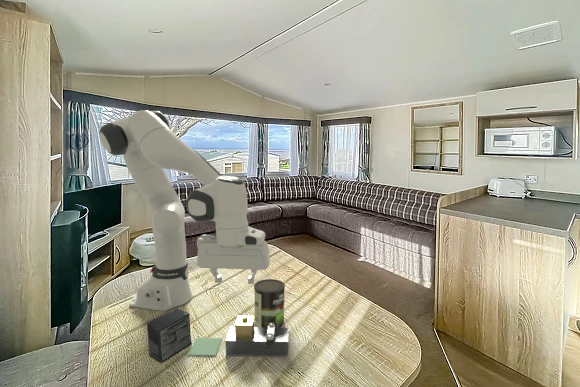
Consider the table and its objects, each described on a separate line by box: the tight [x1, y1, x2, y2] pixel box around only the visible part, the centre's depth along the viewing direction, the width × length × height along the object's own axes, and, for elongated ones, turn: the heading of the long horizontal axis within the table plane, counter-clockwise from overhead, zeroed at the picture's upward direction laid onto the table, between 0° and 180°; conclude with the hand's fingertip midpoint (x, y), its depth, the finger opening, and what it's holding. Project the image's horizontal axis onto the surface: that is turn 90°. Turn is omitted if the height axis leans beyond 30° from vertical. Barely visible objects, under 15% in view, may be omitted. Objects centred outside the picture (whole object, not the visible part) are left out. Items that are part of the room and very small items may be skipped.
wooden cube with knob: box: [234, 315, 255, 338], centre depth 94 cm, size 5×5×5 cm
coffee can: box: [253, 278, 286, 328], centre depth 106 cm, size 10×10×14 cm
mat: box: [187, 337, 223, 357], centre depth 95 cm, size 8×8×1 cm
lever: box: [266, 322, 275, 346], centre depth 90 cm, size 2×8×3 cm, turn 179°
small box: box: [146, 307, 193, 364], centre depth 93 cm, size 11×6×10 cm, turn 145°
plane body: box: [225, 326, 290, 359], centre depth 94 cm, size 18×7×5 cm, turn 89°
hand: (234, 282), depth 89 cm, fingers open, 8 cm apart
